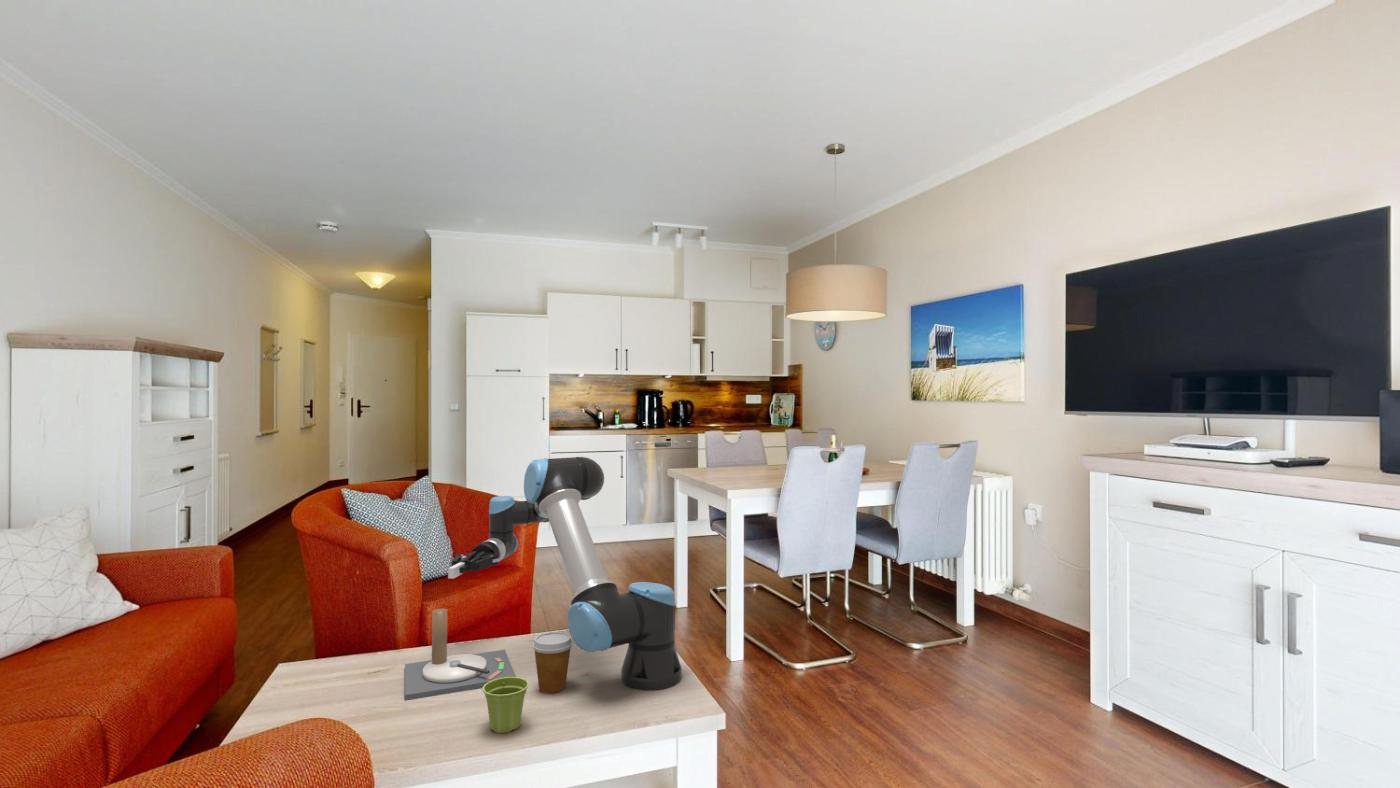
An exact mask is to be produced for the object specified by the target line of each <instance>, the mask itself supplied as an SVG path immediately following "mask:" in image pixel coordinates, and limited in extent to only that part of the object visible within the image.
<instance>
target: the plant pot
mask: <svg viewBox="0 0 1400 788" xmlns="http://www.w3.org/2000/svg"><path fill="white" fill-rule="evenodd" d="M529 683H530V682H529V681H528V680H527V679H526V678H523V677H518V676H516V677H503V678H498V679H495V680H492V681H489V682H488V683H486V684H485V685H484V686H483V688H482V692H483V693H484V696H485V698H486V705H487V712H488V720H489V728H490V730H493V732H494V733H498V734H501V733H505V734H506V733H509V732H511V731H512V730H516V729H518V728H519V727H520V725H521V721H522V714H523V708H524V702H525V695H526V693H527V689H528V688H529Z"/></svg>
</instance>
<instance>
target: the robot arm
mask: <svg viewBox="0 0 1400 788" xmlns="http://www.w3.org/2000/svg"><path fill="white" fill-rule="evenodd" d="M604 474H605V473H604V472H603V469H602V467H601V466H600V464H599V463H598V462H596V461H595V460H593V459H591V458H589V457H585V456H574V457H573V456H572V457H558V458H557V457H556V458H555V457H554V458H548V457H544V458H539V459H534V460H532V461H531V462H529V463H528V465H527V467H526V471H525V473H524V476H523V477H524V479H523V492H524V498H525V500H519V501H518V500H517V501H515V497H513V496H512V495H498V496H494V497H491V499H490V500H489V509H488V520H489V522H488V523H489V524H488V525H489V527H488V529H489V531H488V539H487V540H484V541H482V542H481V543H480V542H479V543H478V544H477V545H475V547H473V549H472V551H471V552H469V553H466V555H464V554H461V553H457V554H455V555H456V557H454V559H453V560H452V561H451V565H450V567H448V570H447V571H448V572H447V573H448V574H447V579H448V580H449V579H452V580H453V579H454V580H455V579H456V578H457V577H459V576H462V575H463V574H464V573H470V572H475V573H476V572H478V571H481V570H483V569H488V568H490V567H492V566H498V565H499V562H501V561H502V560H504V559H506V558H509V557H510V556H511V555H513V553H514V552H516V550H517V549H518V546H519V540H518V537H517V535H516V534H515V526H521V525H529V524H539V523H549V524H550V528H551V530H552V533H553V535H554V539H555V542H556V545H557V547H558V550H559V553H560V556H561V560H562V562H563V564H564V568H565V572H566V574H567V576H568V579H569V582H570V585H571V588H572V590H573V591H572V592H573V593H574V594H573V597H572V599H571V600H570V607H568V608H569V609H568V611H567V618H566V619H567V621H568V623H567V627H568V631H569V635H570V636H571V640H572V641H573V642H574V644H575V645H576V646H577V647H578V648H579V649H580V650H582V651H584V652H585V653H586V652H587V653H595V652H604V651H607V650H608V649H611V648H617V647H620V646H624V645H627V646H628V647H627V651H626V654H625V656H624V660H623V664H622V666H621V670H620V671H621V672H620V673H621V674H620V676H621V677H620V679H621V681H622V683H623V684H624V685H626V686H628V687H629V688H633V689H638V690H642V691H643V690H645V691H651V690H652V691H653V690H662V689H668V688H670V687H672V686H675V685H677V684H678V683H679V682H680V681H681V680H682V675H683V674H682V672H683V671H682V665H681V661H680V658H679V655H678V652H677V648H676V643H675V642H676V640H675V639H676V633H675V632H676V630H675V629H676V627H675V626H676V619H675V618H676V613H675V612H676V599H675V598H676V596H675V591H674V590H673V588H672V587H670V586H668V585H665V584H663V583H658V582H657V583H656V582H650V581H648V582H647V581H638V582H632V583H630V584H629V586H628V589H627V590H628V592H624V593H620V592H619V589H618V586H617V584H616V583H615V582H614V581H611V580H608V578H607V574H606V572H605V569H604V568H603V564H602V562H601V560H600V557H599V554H598V552H597V549H596V547H595V544H594V541H593V538H592V536H591V533H590V530H589V528H588V526H587V523H586V520H585V517H584V515H583V512H582V510H581V508H580V507H581V506H580V504H579V503H580V501H587V500H589V499H591V498H593V497H595V496H596V495H597V494H599V493H600V492H601V490H602V489H603V487H604V483H605V475H604Z"/></svg>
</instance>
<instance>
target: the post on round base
mask: <svg viewBox="0 0 1400 788" xmlns="http://www.w3.org/2000/svg"><path fill="white" fill-rule="evenodd" d="M431 614H432V615H431V619H432V620H431V625H432V626H431V660H432V661H431V662H429V663H428V664H426V665H425V666H424V668H423V677H424V678H425V679H426V680H428V681H432V682H438V683H450V682H458V681H463V680H467V679H470V678H473V677H476V676H478V675H480V674H481V673H485V674H488V673H490V671H489V670H485V669H486V660H485V658H483V657H481V656H478V655H472V654H473V653H472V654H470V653H469V654H468V653H467V654H466V653H464V654H463V653H461V654H460V653H459V654H451V655H448V609H447V608H442V607H441V608H435V609H433V610H432V612H431Z"/></svg>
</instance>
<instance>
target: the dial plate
mask: <svg viewBox="0 0 1400 788" xmlns="http://www.w3.org/2000/svg"><path fill="white" fill-rule="evenodd" d="M472 655H478V656H481V657H483V658H485V660H486V669H485V670H489V671H490V673H488V674H485V673H481V674H480V675H478V676H476V677H473V678H470V679H467V680H463V681H458V682H450V683H438V682H432V681H428V680H426V679H425V678H424V677H423V668H424V666H425V665H426V664H428V663H429V662H431V661H432V659H430V660H424V661H417V662H409V663H404V701H410V700H415V699H421V698H427V697H434V696H439V695H446V694H451V693H452V694H453V693H458V692H464V691H472V690H475V689H476V690H477V689H481V688H482V687H483V686H484V685H485V684H486V683H488V682H489V681H492V680H495V679H498V678H503V677H517V675H516V674H515V671H514V668H513V666H512V663H511V660H510V658H509V656H508V654H507V651H506V649H499V650H493V651H487V652H480V653H479V652H478V653H472ZM482 689H483V688H482Z"/></svg>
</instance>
